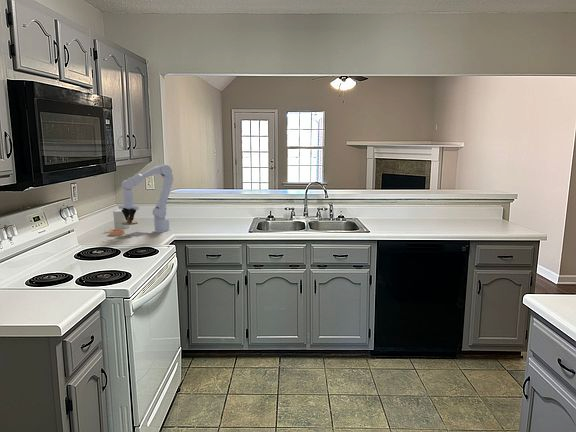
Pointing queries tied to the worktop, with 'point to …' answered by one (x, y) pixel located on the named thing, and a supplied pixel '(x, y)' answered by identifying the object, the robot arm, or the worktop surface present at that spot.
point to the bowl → (116, 232)
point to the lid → (129, 222)
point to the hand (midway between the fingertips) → (129, 220)
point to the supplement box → (119, 220)
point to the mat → (137, 234)
